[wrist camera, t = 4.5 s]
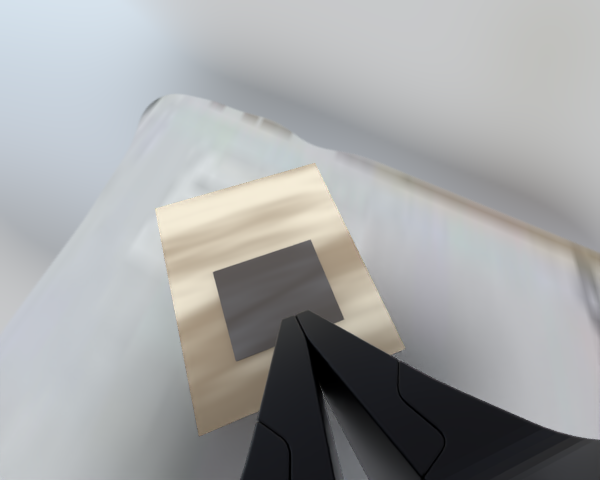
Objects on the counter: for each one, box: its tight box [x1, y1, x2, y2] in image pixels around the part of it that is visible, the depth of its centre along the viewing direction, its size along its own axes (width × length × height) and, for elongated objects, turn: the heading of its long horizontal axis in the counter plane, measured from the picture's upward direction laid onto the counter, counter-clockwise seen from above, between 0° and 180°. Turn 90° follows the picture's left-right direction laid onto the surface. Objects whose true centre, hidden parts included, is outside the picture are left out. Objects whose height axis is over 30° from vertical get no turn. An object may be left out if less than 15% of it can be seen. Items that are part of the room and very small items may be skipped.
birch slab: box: [155, 163, 406, 436], centre depth 18 cm, size 3×11×13 cm
